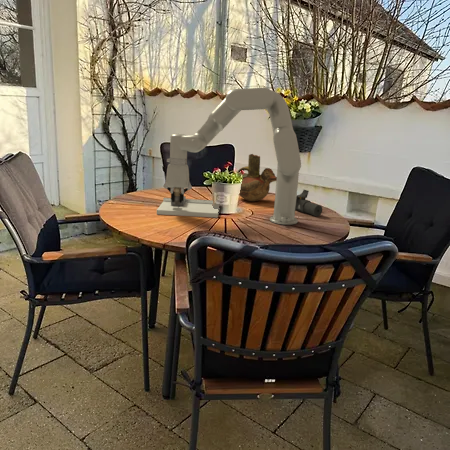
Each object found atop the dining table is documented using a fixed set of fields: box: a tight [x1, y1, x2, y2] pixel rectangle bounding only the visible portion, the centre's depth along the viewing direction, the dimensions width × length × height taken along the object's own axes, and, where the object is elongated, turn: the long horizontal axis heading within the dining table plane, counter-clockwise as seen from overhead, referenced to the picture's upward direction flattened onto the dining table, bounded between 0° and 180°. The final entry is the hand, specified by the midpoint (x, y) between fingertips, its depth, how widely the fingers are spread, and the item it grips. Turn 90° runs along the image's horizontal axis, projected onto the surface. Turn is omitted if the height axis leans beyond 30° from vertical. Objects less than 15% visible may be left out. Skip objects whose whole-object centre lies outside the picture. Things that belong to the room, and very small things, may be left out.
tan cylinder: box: [174, 187, 181, 205], centre depth 194 cm, size 3×3×8 cm
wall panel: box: [156, 197, 220, 218], centre depth 203 cm, size 24×28×4 cm
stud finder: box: [171, 195, 187, 206], centre depth 205 cm, size 8×6×3 cm
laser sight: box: [295, 189, 323, 217], centre depth 212 cm, size 10×22×10 cm, turn 31°
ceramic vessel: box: [237, 153, 277, 202], centre depth 227 cm, size 17×26×25 cm, turn 61°
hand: (177, 201), depth 195 cm, fingers closed on tan cylinder, 3 cm apart
